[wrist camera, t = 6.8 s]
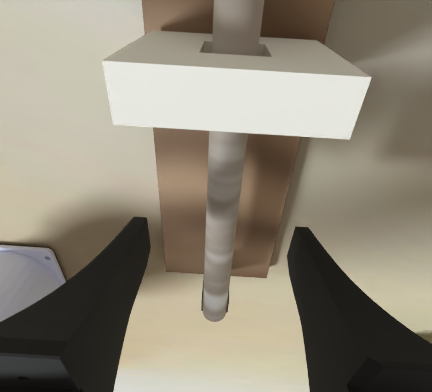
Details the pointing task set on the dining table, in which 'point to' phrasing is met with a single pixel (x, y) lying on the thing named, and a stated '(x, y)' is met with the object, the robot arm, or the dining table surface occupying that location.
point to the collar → (234, 87)
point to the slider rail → (227, 152)
